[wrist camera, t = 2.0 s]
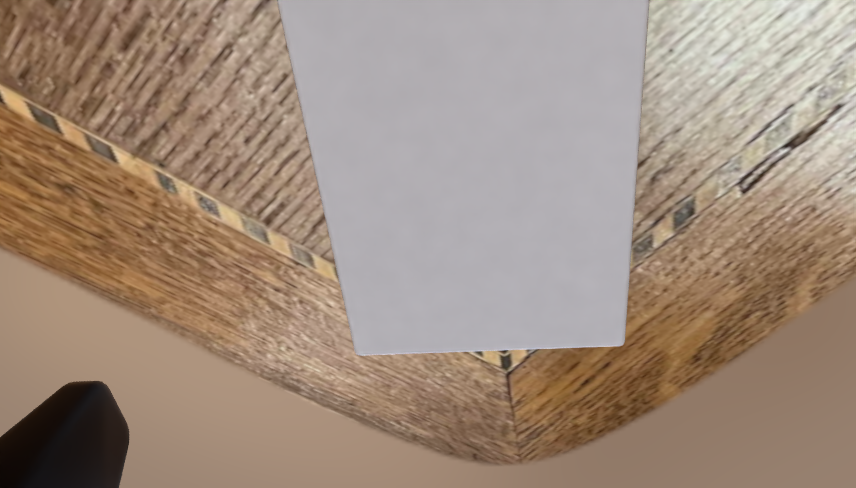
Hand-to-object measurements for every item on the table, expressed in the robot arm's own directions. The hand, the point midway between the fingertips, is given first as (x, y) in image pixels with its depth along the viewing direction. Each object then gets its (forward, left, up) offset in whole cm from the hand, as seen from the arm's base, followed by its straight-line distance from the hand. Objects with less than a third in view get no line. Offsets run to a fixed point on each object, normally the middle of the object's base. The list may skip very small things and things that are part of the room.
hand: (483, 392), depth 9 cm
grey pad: (0, 0, -7) cm, 7 cm away
